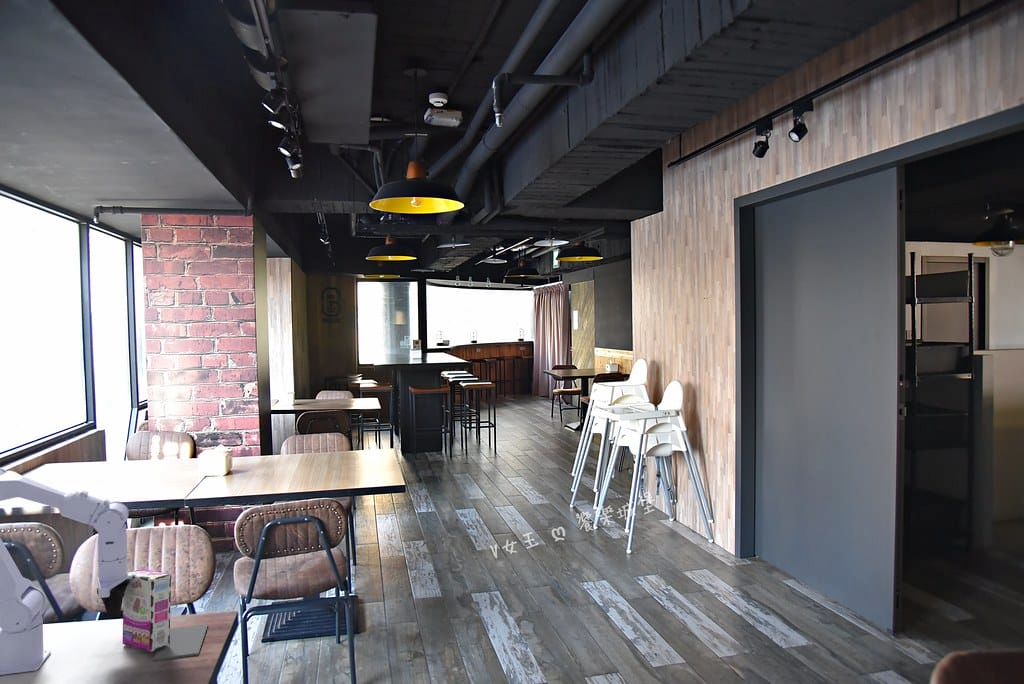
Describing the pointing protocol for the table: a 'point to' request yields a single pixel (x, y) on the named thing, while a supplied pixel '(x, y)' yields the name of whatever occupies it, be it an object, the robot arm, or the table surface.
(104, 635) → the table surface
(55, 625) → the table surface
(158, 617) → the candy bar box
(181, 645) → the mat
